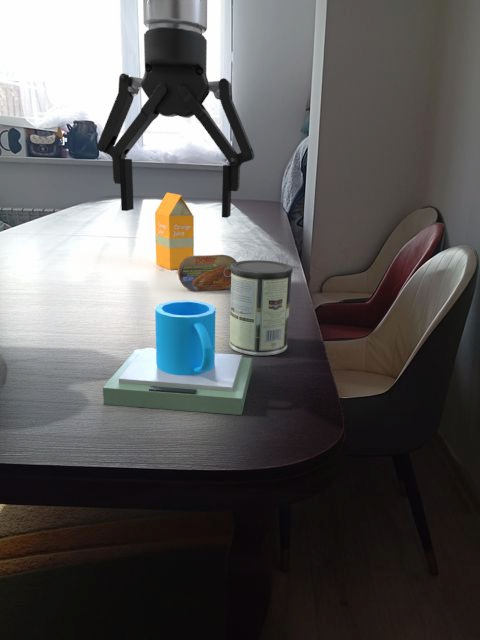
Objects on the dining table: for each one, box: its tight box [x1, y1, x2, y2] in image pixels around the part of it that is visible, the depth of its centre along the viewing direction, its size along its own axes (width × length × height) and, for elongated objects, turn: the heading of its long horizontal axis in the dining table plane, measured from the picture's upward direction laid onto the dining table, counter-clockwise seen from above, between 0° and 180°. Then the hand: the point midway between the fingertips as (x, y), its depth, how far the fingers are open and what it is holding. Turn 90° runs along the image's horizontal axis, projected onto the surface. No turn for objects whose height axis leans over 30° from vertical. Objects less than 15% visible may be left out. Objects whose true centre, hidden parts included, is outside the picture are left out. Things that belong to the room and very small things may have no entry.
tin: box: [177, 254, 238, 292], centre depth 124 cm, size 15×3×8 cm, turn 112°
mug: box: [154, 299, 217, 375], centre depth 70 cm, size 12×8×8 cm
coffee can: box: [228, 259, 294, 357], centre depth 87 cm, size 10×10×14 cm
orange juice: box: [154, 192, 195, 271], centre depth 145 cm, size 8×9×20 cm
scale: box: [102, 347, 253, 416], centre depth 72 cm, size 18×14×3 cm
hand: (176, 213), depth 70 cm, fingers open, 13 cm apart
